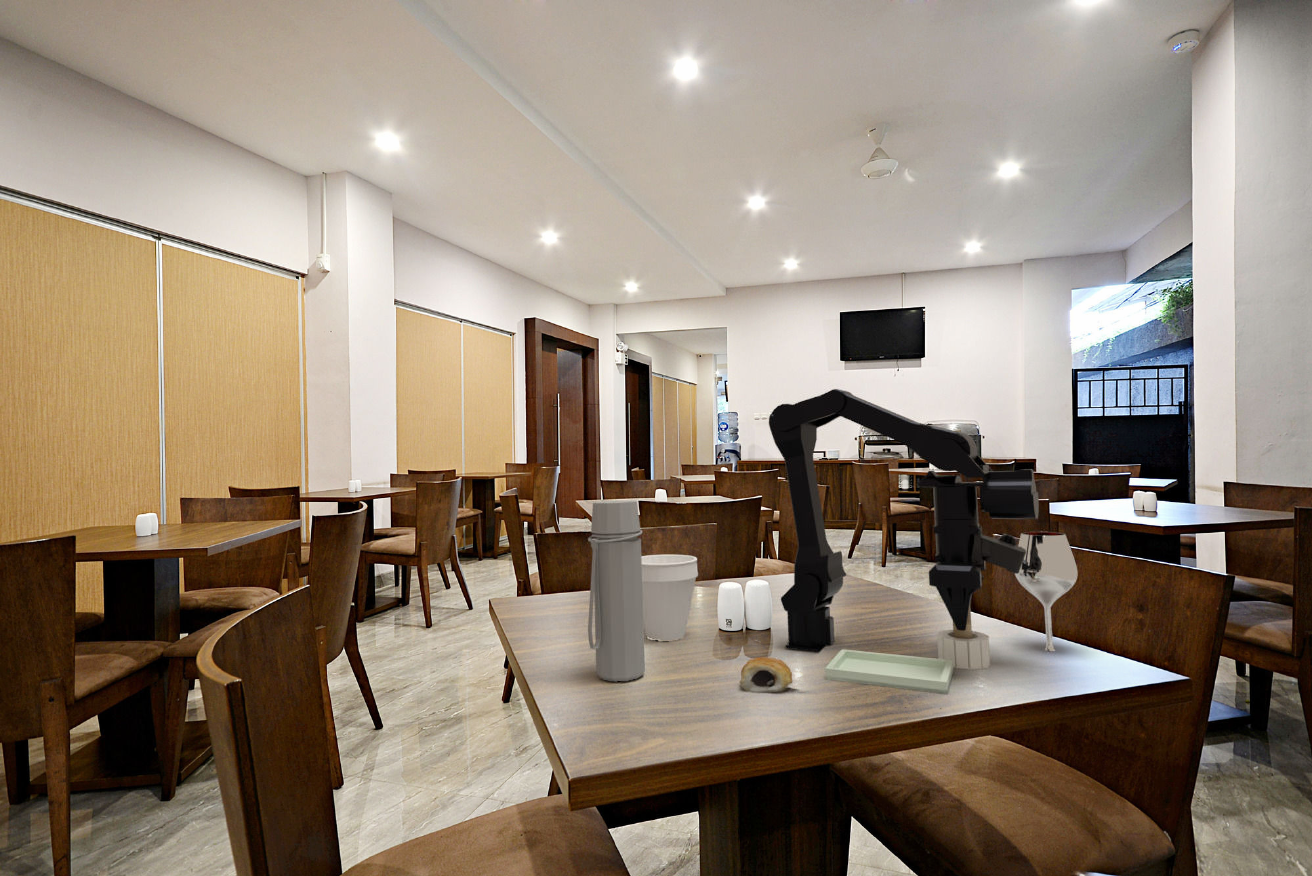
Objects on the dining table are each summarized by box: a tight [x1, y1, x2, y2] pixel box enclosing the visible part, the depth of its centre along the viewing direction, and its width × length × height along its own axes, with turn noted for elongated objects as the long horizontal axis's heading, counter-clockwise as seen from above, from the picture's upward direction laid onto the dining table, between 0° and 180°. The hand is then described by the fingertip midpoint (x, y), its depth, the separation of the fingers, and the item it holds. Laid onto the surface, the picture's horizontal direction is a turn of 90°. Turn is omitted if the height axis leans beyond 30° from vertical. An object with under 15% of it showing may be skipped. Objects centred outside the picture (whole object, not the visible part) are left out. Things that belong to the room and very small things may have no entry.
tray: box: [824, 648, 955, 695], centre depth 89 cm, size 15×10×2 cm, turn 62°
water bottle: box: [587, 500, 646, 683], centre depth 95 cm, size 9×8×25 cm
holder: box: [936, 629, 991, 670], centre depth 94 cm, size 7×7×4 cm
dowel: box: [952, 604, 973, 639], centre depth 94 cm, size 2×2×11 cm
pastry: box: [739, 656, 793, 693], centre depth 90 cm, size 9×7×4 cm
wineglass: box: [1014, 531, 1079, 652], centre depth 98 cm, size 8×8×18 cm
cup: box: [641, 554, 699, 640], centre depth 117 cm, size 12×12×14 cm
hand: (962, 627), depth 94 cm, fingers closed on dowel, 2 cm apart
